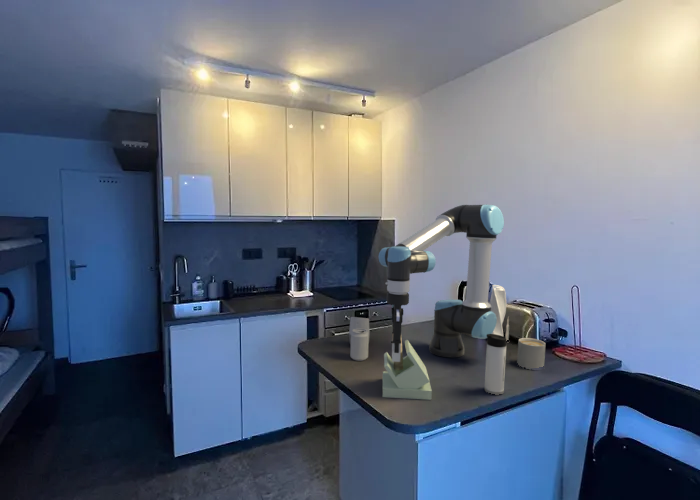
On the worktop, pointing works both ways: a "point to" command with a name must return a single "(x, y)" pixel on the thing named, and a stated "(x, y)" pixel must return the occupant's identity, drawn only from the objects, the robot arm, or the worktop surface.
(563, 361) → the worktop surface
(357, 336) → the can
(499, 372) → the travel mug
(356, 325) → the smart speaker
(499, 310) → the skyscraper
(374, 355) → the worktop surface
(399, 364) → the dowel
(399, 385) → the socket
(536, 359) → the coffee mug
